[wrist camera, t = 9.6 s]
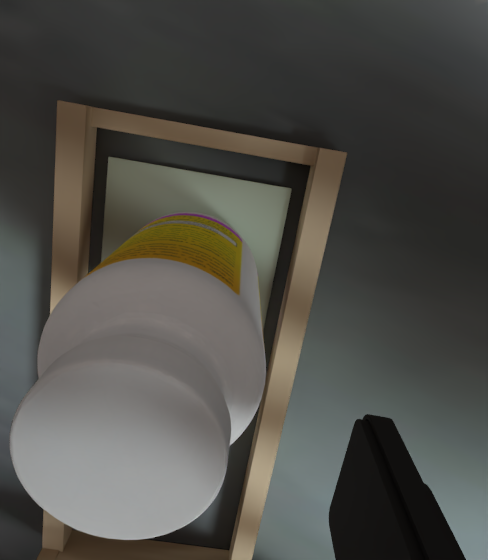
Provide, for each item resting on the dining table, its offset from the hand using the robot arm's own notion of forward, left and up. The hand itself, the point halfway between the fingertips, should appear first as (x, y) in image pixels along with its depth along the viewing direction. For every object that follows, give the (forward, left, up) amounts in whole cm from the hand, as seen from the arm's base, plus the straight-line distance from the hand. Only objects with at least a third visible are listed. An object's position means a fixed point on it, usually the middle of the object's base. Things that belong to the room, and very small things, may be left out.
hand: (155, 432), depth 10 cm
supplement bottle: (+1, 0, -12) cm, 12 cm away
